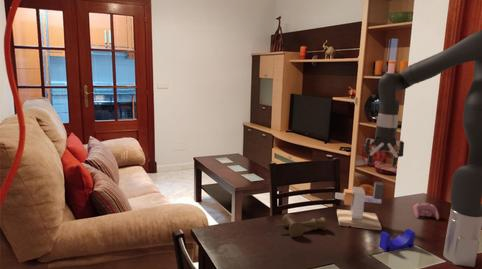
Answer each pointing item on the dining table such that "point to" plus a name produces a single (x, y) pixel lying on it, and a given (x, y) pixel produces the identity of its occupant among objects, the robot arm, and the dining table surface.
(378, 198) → the shaft
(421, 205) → the video game controller
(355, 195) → the stand
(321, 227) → the kendama
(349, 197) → the block
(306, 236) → the dining table surface
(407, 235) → the cable clip
